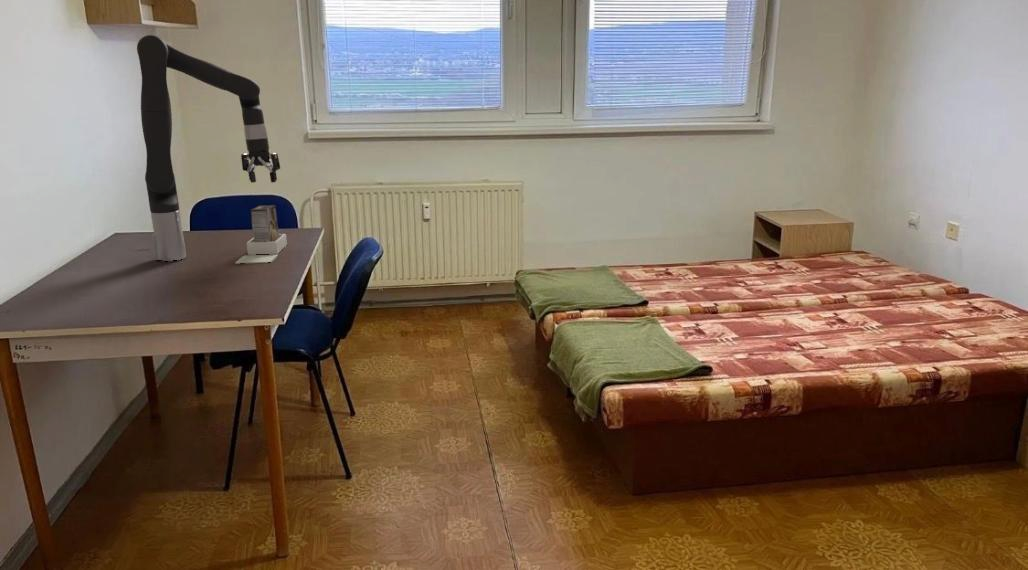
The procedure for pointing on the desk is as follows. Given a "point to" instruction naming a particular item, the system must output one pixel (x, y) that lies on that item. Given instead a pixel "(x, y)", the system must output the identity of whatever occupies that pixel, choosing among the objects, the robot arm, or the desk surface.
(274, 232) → the coffee box
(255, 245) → the bin
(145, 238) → the desk surface
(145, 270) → the desk surface
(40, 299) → the desk surface
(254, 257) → the mat
